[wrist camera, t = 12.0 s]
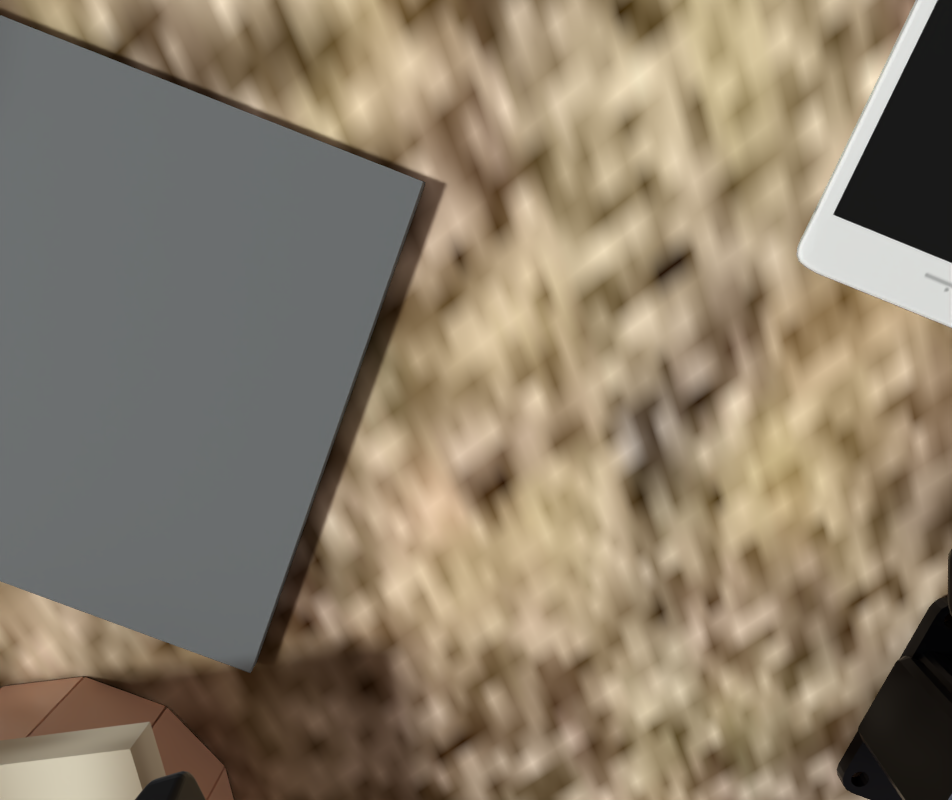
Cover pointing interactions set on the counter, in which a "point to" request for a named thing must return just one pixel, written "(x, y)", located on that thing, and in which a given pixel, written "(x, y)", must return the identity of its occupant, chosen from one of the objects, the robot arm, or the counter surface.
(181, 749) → the terracotta bowl
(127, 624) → the rubber mat
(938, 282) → the cell phone
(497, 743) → the counter surface
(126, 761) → the square lid with knob
